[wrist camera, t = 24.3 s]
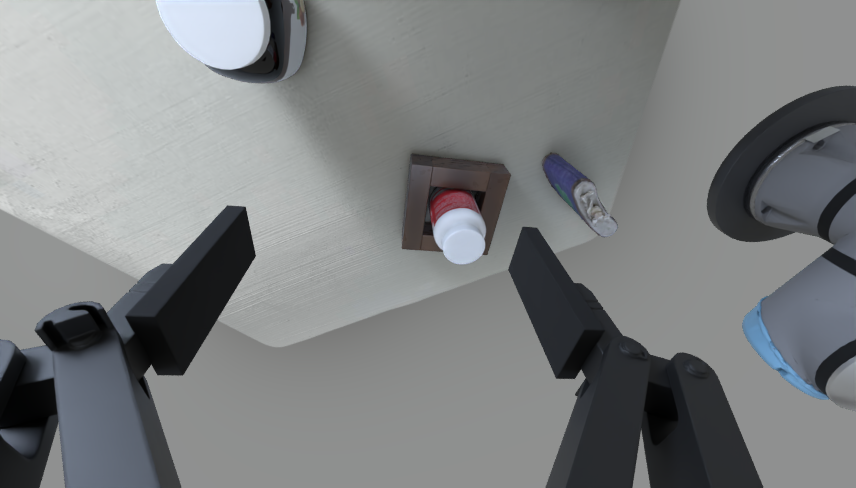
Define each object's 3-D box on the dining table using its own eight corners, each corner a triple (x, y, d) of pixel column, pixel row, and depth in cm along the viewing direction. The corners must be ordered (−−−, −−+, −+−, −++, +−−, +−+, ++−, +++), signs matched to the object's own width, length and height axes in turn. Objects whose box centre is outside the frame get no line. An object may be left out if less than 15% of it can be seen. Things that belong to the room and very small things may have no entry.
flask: (586, 196, 45) (631, 238, 37) (567, 209, 46) (606, 253, 38) (555, 147, 41) (597, 181, 32) (535, 162, 42) (570, 199, 33)
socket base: (503, 164, 42) (511, 174, 39) (482, 241, 49) (487, 255, 46) (410, 153, 40) (411, 163, 37) (401, 235, 47) (401, 249, 44)
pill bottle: (419, 197, 44) (424, 243, 35) (458, 171, 42) (474, 212, 33) (444, 228, 47) (455, 278, 38) (481, 206, 45) (502, 252, 36)
